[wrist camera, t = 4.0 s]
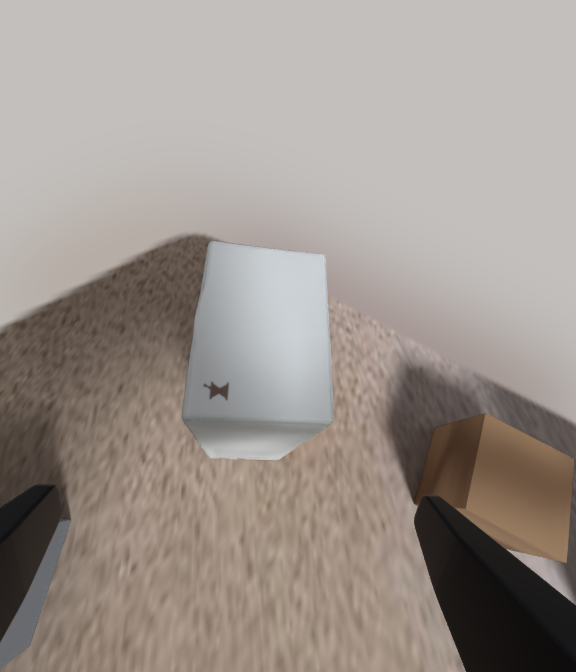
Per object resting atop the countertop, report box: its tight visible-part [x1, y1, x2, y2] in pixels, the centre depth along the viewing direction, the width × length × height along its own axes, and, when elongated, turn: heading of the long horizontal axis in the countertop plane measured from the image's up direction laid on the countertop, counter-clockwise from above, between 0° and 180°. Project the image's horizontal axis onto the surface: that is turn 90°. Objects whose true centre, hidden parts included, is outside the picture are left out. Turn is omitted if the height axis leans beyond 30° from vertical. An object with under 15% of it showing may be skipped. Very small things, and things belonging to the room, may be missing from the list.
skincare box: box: [182, 241, 334, 460], centre depth 15 cm, size 6×4×12 cm
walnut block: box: [414, 413, 574, 563], centre depth 19 cm, size 5×5×5 cm
